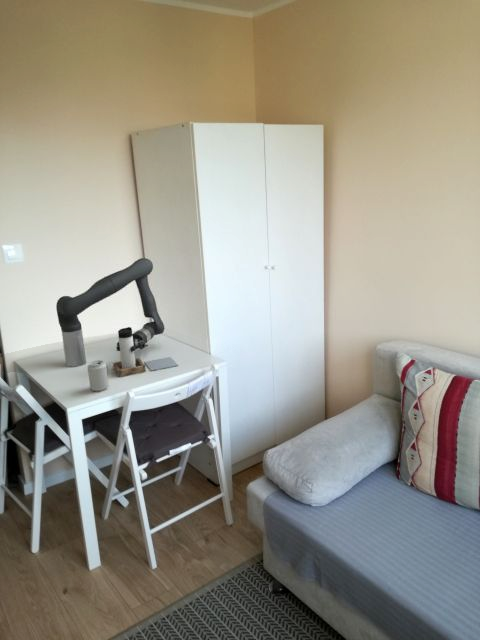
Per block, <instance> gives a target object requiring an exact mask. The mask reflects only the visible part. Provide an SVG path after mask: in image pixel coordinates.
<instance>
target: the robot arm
mask: <svg viewBox="0 0 480 640" xmlns="http://www.w3.org/2000/svg"><path fill="white" fill-rule="evenodd" d="M153 269H154V264H153V262H152V261H151V259H149V258H145V257H141V258H138V259H137V260H135V261H134V262H133V263H132V264H130V265H129V266H128V267H125V268H123V269H121V270H118V271H116V272H112V273H110V274H108V275H107V276H104V277H103V278H100V279H99V280H97V281H95V282H94V283H93V284H92V285H91V286H90V287H89V288H88V289H87V290H86V291H85V292H83V293H81V294H78V295H76V296H73V297H72V296H68V295H64V296H61V297H59V298H58V299H57V302H56V307H55V308H56V315H57V320H58V324H59V326H60V331H61V336H62V344H63V352H64V359H65V363H66V367H70V368H71V367H79V366H83V365H85V364H86V363H87V357H86V350H85V343H84V335H83V329H82V323H81V321H80V320H79V317H78V315H80V314H81V313H83V312H84V311H85V310H87V309H88V308H91V306H93V305H95V304H97V303H100V302H101V301H103V300H105V299H107V298H108V297H111V296H112V295H114V294H116V293H117V292H119V291H120V290H123V289H124V288H126V287H127V286H128V285H130V284H131V283H132V282H134V281H135V284H136V288H137V290H138V293H139V297H140V303H141V306H142V311H143V315H144V317H145V318H149V319H150V318H151V319H152V320H153V321H149V322H146V323H144V324H143V326H142V327H141V329H140V328H139V329H138V330H136V331H135V332H132V335H133V344H134V345H133V346H132V347H131V352H133V351H134V352H136V350H143V349H145V348H146V347H148V345H149V344H148V342H149V341H150V340H152V339H153V338H154V336H158V335H162V334H163V333H164V331H165V324H164V322H163V320H162V319H161V316H160V314H159V312H158V308H157V302H156V299H155V296H154V294H153V292H152V290H151V288H150V286H149V285H150V284H149V281H148V280H149V279H148V278H149V277H148V276H149V275H150V274H151V273H152V271H153ZM116 351H117V352H120V346H119V341H117V342H116Z"/></svg>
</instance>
